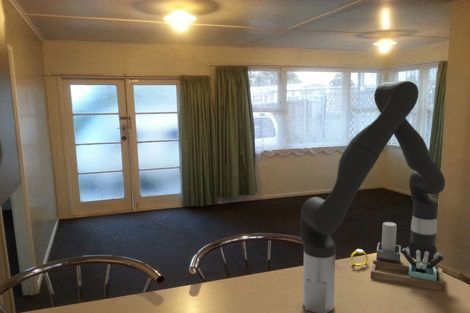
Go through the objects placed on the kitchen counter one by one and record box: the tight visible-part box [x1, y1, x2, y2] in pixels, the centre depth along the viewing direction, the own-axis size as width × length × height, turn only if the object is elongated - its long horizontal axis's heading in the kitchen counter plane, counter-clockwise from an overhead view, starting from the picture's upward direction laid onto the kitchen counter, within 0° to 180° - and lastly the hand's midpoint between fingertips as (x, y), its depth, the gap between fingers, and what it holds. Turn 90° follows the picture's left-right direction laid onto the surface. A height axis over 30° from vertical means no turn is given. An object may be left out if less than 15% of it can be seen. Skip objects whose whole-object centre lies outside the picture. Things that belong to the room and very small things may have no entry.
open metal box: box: [375, 242, 402, 264], centre depth 133 cm, size 8×8×6 cm
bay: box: [370, 259, 445, 292], centre depth 122 cm, size 10×22×4 cm, turn 64°
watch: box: [350, 248, 369, 267], centre depth 133 cm, size 6×3×6 cm, turn 86°
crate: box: [408, 262, 438, 282], centre depth 120 cm, size 7×8×4 cm
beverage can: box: [381, 221, 398, 252], centre depth 132 cm, size 5×5×12 cm
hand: (420, 278), depth 120 cm, fingers closed
